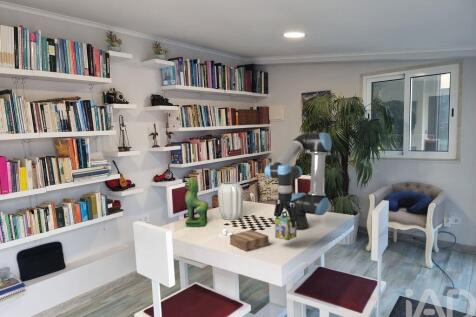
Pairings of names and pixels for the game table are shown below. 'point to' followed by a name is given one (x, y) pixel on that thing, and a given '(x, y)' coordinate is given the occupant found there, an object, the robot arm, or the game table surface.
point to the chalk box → (283, 227)
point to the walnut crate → (249, 240)
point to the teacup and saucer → (225, 233)
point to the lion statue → (195, 205)
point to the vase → (230, 200)
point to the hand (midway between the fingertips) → (285, 230)
